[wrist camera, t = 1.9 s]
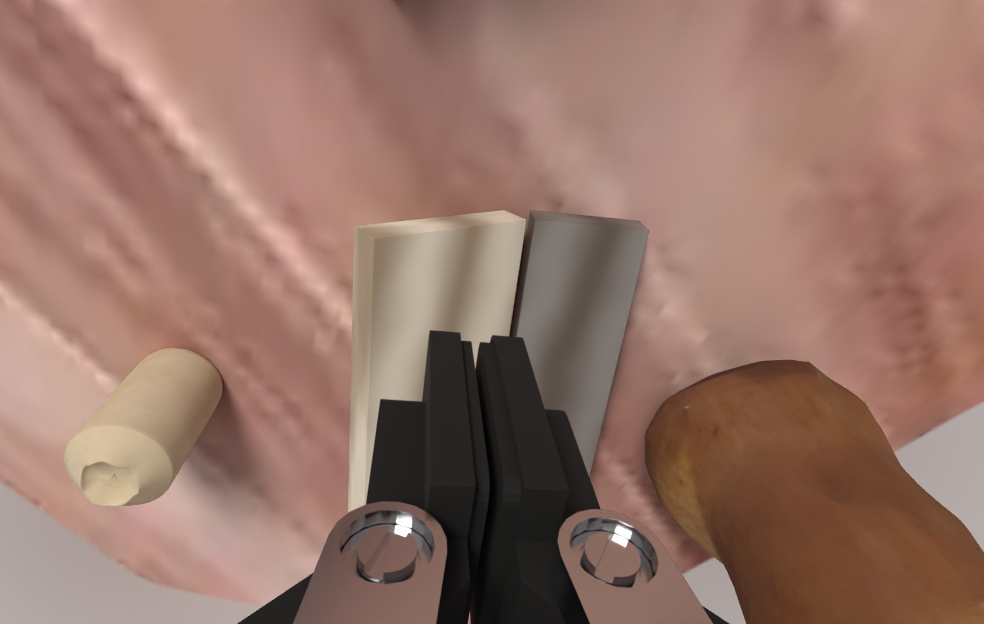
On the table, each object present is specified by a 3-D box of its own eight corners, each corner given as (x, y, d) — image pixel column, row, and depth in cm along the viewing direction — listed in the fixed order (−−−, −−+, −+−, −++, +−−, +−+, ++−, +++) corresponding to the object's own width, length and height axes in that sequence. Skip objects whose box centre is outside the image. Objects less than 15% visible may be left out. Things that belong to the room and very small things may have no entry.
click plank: (504, 210, 36) (526, 219, 34) (464, 510, 46) (480, 526, 44) (354, 226, 29) (374, 238, 28) (346, 568, 40) (361, 590, 38)
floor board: (638, 220, 37) (649, 230, 35) (571, 508, 47) (577, 527, 46) (530, 210, 36) (535, 219, 35) (485, 505, 46) (487, 525, 45)
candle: (140, 337, 38) (47, 433, 29) (229, 356, 39) (166, 454, 30) (134, 406, 40) (46, 515, 31) (219, 423, 41) (157, 533, 32)
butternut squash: (677, 499, 48) (888, 914, 25) (592, 390, 43) (766, 794, 20) (834, 410, 45) (1227, 786, 23) (765, 282, 40) (1189, 608, 17)
